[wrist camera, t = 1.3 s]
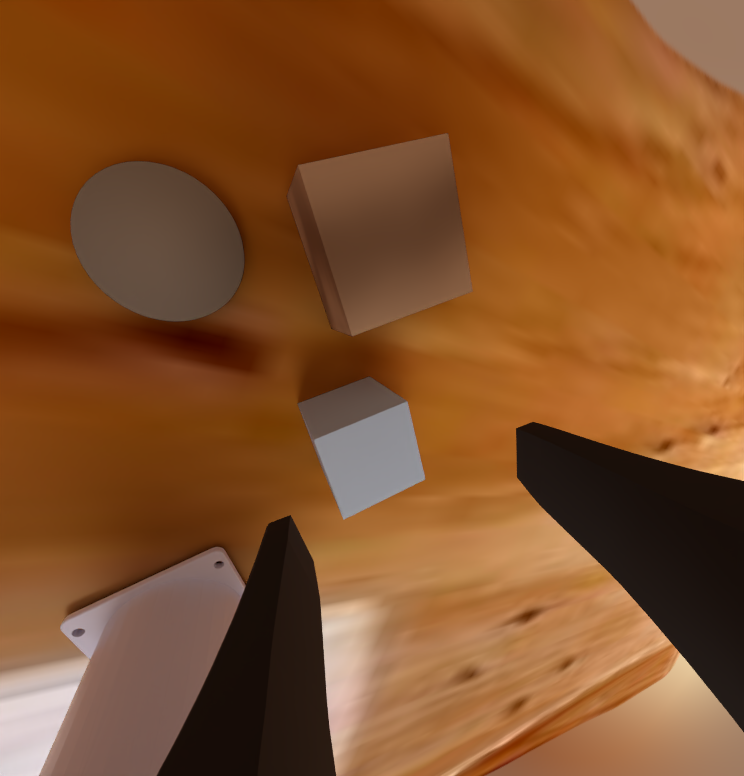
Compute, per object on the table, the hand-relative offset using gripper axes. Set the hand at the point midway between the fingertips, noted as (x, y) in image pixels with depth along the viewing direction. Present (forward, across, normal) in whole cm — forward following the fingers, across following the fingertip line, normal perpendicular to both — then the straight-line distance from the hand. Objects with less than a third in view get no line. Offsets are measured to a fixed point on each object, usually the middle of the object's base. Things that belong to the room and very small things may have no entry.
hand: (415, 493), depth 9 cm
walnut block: (+11, -3, -6) cm, 13 cm away
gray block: (+10, +1, +3) cm, 10 cm away
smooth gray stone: (+10, +6, -8) cm, 15 cm away
